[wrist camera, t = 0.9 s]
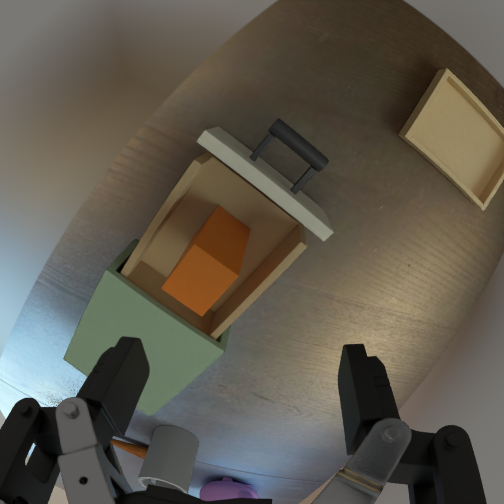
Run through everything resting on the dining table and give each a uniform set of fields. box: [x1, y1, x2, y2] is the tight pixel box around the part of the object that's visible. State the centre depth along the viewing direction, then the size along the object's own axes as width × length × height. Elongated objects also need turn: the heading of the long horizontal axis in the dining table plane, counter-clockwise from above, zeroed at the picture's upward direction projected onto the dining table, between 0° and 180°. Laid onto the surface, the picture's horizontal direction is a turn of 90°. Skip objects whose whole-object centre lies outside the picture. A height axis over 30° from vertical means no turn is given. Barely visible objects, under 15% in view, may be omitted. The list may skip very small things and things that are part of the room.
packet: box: [161, 205, 250, 316], centre depth 28 cm, size 5×4×10 cm
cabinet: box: [63, 239, 231, 416], centre depth 37 cm, size 19×15×8 cm
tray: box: [398, 69, 504, 211], centre depth 26 cm, size 13×9×2 cm
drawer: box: [120, 118, 333, 340], centre depth 30 cm, size 22×13×6 cm, turn 142°
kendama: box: [111, 439, 148, 459], centre depth 54 cm, size 6×6×20 cm
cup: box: [138, 425, 199, 494], centre depth 48 cm, size 9×9×12 cm
